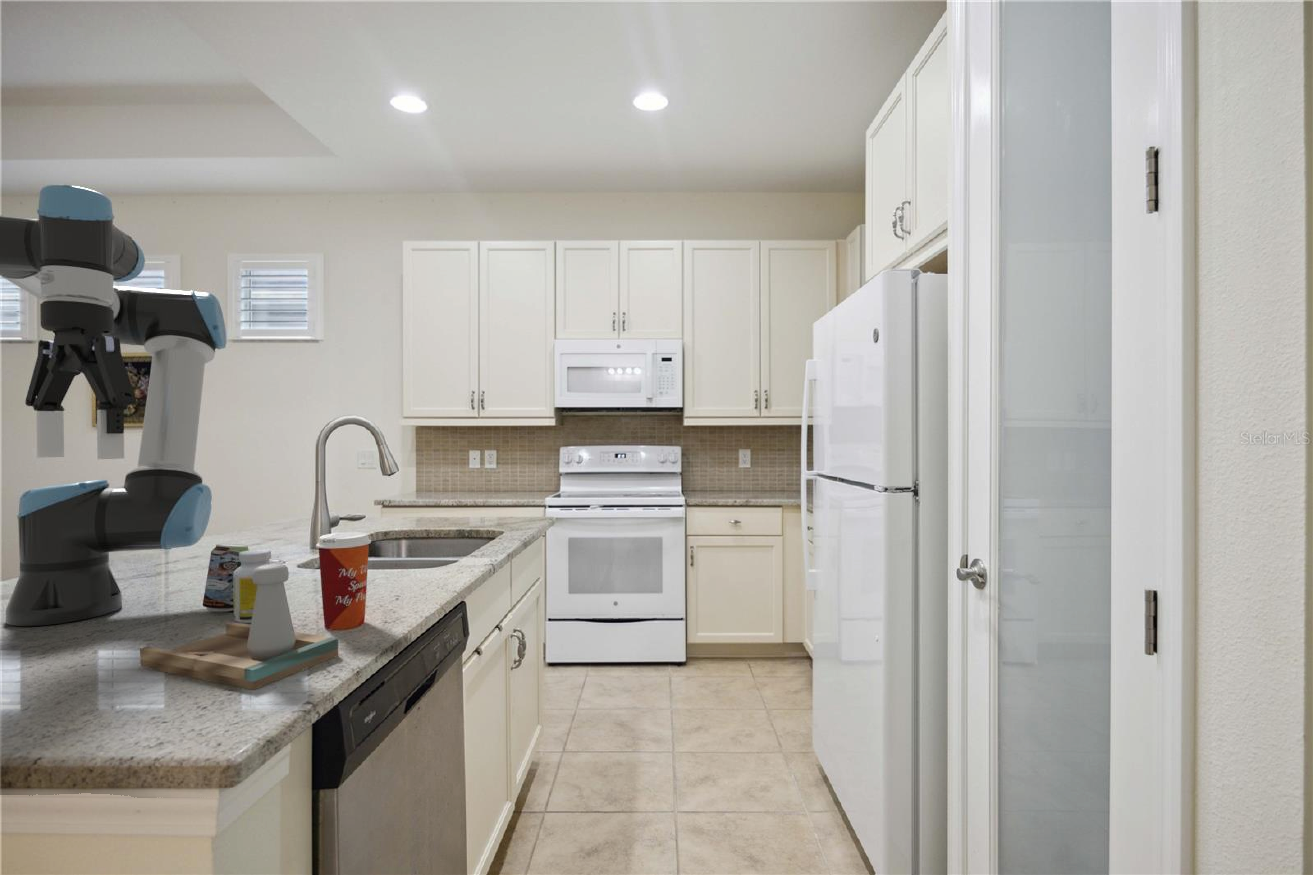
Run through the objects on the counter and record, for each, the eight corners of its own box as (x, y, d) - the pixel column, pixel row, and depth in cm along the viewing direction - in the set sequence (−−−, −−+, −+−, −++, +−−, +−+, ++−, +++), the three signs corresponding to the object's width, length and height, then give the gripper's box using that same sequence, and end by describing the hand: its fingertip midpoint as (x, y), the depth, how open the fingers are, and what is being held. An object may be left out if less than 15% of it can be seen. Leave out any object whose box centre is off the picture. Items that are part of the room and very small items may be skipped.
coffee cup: (350, 634, 103) (349, 540, 102) (305, 630, 104) (304, 538, 104) (382, 618, 111) (381, 531, 111) (340, 616, 113) (339, 530, 112)
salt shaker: (260, 652, 91) (259, 561, 91) (303, 651, 92) (302, 560, 92) (238, 668, 85) (236, 570, 85) (283, 666, 86) (282, 569, 86)
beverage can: (194, 613, 114) (193, 546, 114) (235, 603, 121) (234, 539, 121) (218, 617, 112) (217, 548, 112) (258, 606, 119) (257, 541, 118)
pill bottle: (282, 619, 111) (281, 551, 111) (238, 627, 106) (237, 557, 106) (272, 611, 115) (271, 546, 115) (229, 618, 111) (228, 551, 111)
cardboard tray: (140, 666, 89) (139, 648, 89) (232, 637, 101) (232, 622, 101) (253, 689, 81) (252, 670, 81) (338, 655, 93) (338, 638, 93)
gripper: (-10, 305, 89) (-7, 457, 90) (102, 291, 80) (105, 460, 81) (57, 313, 96) (59, 455, 97) (166, 302, 87) (168, 458, 88)
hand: (80, 458), depth 89 cm, fingers open, 13 cm apart
